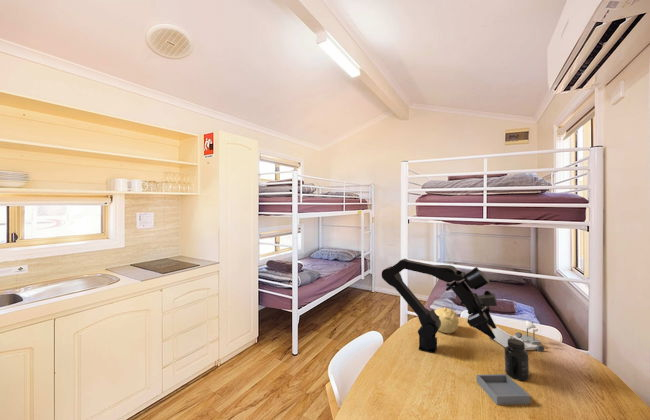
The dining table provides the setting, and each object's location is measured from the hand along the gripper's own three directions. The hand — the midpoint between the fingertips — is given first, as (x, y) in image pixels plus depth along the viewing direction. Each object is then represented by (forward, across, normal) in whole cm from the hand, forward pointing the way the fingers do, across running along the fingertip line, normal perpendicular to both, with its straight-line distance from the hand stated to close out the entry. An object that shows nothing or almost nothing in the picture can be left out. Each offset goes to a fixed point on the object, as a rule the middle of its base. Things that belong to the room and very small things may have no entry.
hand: (494, 333), depth 95 cm
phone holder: (+16, +25, +2) cm, 29 cm away
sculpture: (-2, +22, +25) cm, 33 cm away
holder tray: (+12, -14, +6) cm, 19 cm away
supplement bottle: (+14, -1, +3) cm, 15 cm away
